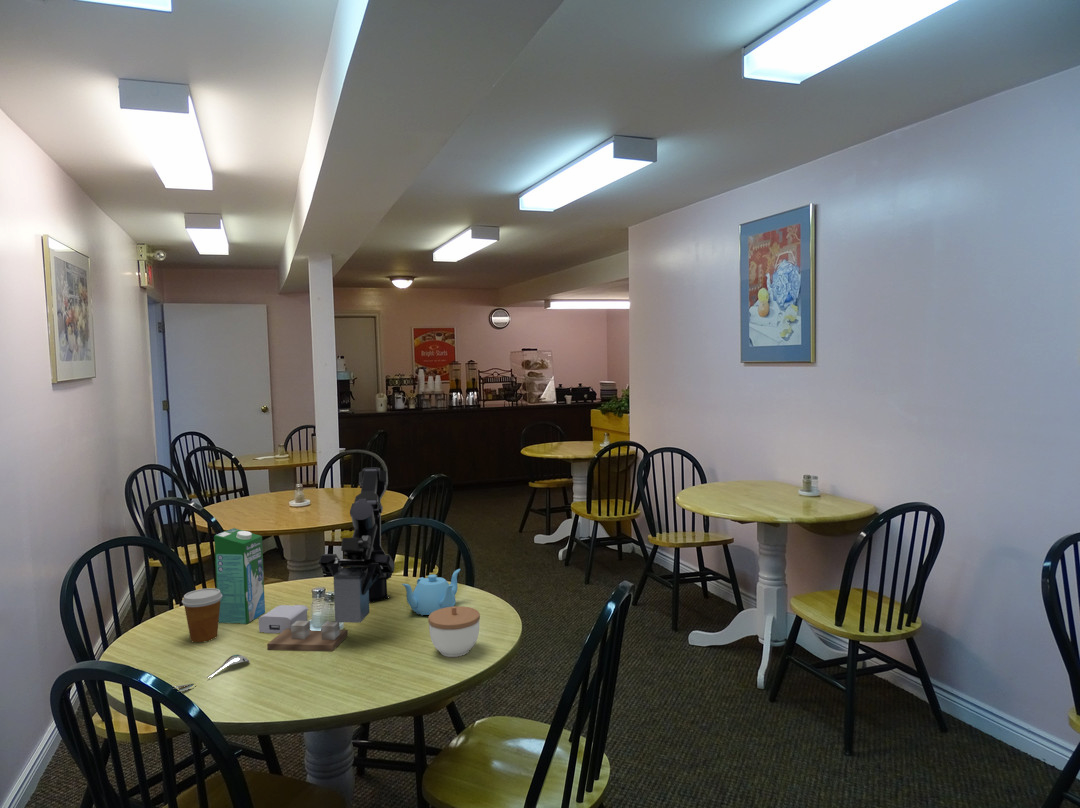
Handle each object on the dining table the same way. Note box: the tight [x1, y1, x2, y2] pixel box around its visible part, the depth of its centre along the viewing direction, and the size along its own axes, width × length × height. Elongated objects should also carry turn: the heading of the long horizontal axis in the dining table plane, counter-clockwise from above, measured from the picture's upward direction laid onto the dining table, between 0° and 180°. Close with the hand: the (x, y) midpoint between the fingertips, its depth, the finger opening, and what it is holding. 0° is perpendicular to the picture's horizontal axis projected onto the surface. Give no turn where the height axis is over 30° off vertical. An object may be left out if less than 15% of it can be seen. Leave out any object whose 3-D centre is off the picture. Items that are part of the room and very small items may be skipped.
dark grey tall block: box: [333, 567, 370, 624], centre depth 172 cm, size 7×7×12 cm
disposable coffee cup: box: [181, 587, 222, 643], centre depth 177 cm, size 10×10×12 cm
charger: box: [258, 604, 309, 634], centre depth 187 cm, size 5×9×15 cm
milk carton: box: [213, 527, 266, 625], centre depth 191 cm, size 9×9×25 cm
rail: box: [266, 620, 349, 652], centre depth 173 cm, size 17×10×5 cm, turn 85°
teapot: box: [401, 568, 461, 616], centre depth 195 cm, size 15×15×10 cm
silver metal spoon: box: [173, 654, 250, 692], centre depth 154 cm, size 20×4×5 cm
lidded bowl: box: [427, 605, 481, 658], centre depth 166 cm, size 13×13×11 cm
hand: (349, 594), depth 170 cm, fingers closed on dark grey tall block, 7 cm apart
